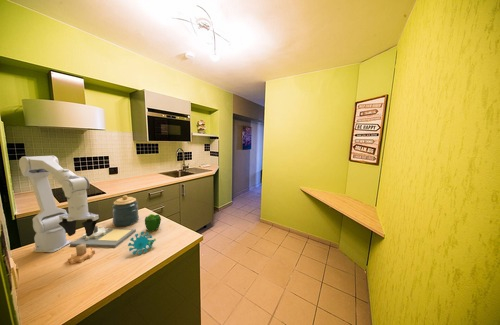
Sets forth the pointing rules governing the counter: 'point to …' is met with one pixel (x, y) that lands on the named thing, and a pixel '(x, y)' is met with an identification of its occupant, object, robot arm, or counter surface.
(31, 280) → the counter surface
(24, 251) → the counter surface
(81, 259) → the wood gear
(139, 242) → the teal virus toy
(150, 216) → the bell pepper
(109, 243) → the gear board
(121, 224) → the canister
